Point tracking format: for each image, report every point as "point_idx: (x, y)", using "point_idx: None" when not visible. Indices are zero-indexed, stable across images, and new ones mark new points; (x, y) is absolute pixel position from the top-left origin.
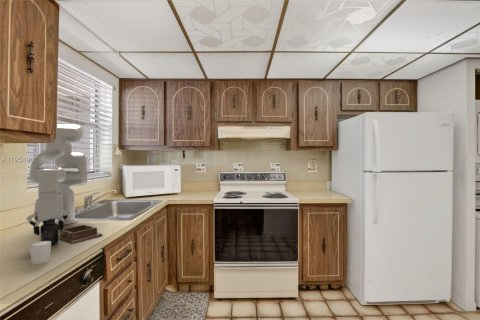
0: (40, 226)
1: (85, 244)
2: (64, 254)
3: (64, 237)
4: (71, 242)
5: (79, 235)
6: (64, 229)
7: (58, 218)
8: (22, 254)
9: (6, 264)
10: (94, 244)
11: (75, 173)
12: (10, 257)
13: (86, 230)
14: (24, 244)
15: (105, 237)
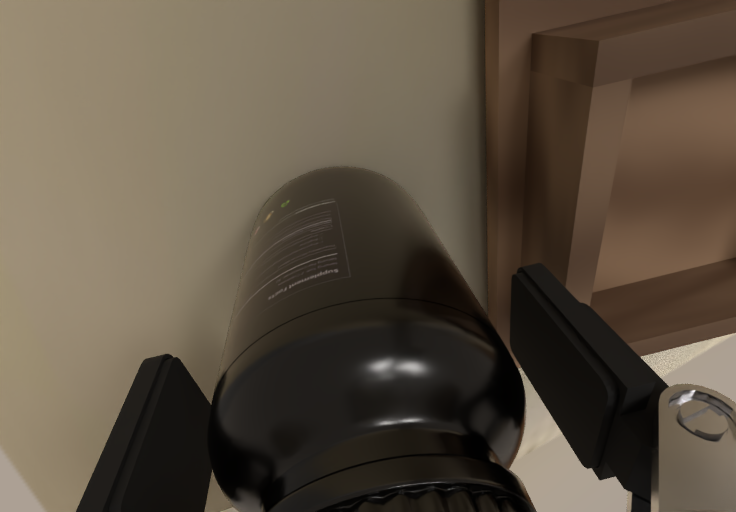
0: (211, 454)
1: (528, 412)
2: None
3: (518, 195)
4: None
5: None
6: (655, 69)
7: (667, 502)
8: (113, 398)
9: (55, 507)
10: (558, 434)
11: None
12: (27, 417)
13: (709, 335)
14: (19, 18)
15: (706, 346)
